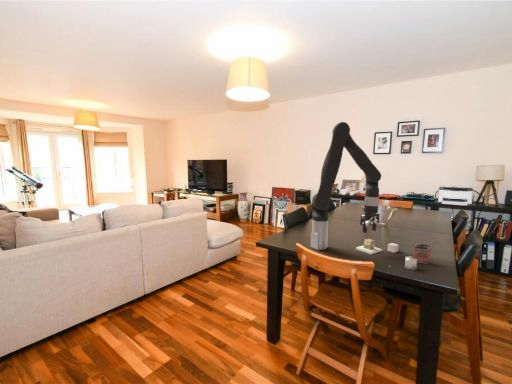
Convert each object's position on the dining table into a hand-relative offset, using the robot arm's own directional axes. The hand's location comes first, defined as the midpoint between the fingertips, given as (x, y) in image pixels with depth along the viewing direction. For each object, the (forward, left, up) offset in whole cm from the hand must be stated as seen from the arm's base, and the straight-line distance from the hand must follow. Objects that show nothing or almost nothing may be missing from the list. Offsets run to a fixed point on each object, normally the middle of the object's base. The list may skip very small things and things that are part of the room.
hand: (369, 231), depth 147 cm
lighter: (+8, -25, -12) cm, 29 cm away
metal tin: (-4, -26, -11) cm, 29 cm away
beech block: (0, 0, -10) cm, 10 cm away
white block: (+11, -8, -12) cm, 18 cm away
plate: (0, 0, -11) cm, 11 cm away
